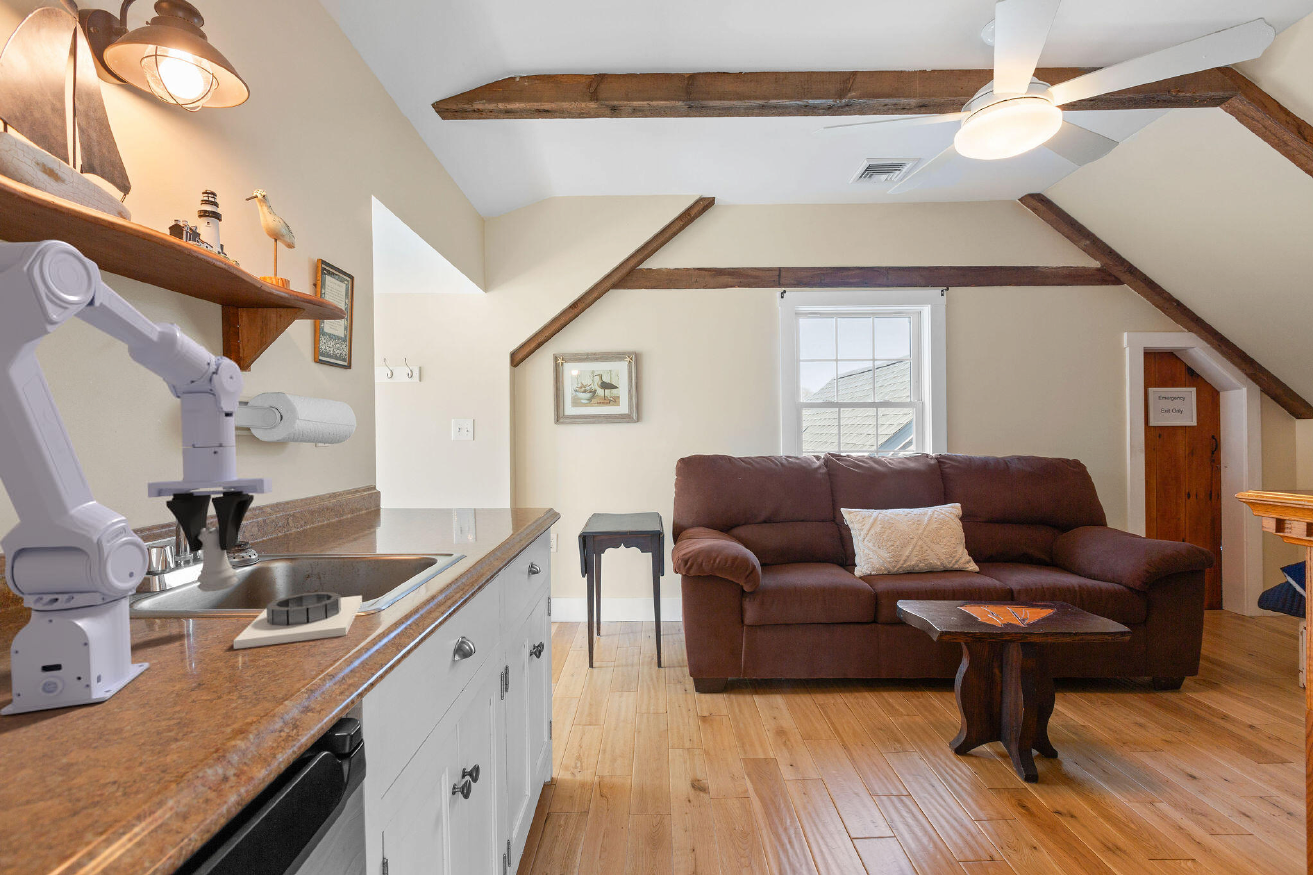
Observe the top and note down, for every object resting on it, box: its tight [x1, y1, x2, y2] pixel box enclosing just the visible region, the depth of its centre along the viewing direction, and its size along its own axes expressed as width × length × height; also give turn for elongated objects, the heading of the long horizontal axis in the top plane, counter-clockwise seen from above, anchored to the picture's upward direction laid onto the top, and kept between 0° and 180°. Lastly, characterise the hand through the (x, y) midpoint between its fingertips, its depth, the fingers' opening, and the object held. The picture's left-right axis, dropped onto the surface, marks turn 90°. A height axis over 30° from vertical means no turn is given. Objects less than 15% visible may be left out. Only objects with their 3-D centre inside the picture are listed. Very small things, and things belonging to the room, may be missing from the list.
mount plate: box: [233, 595, 363, 650], centre depth 82 cm, size 16×12×1 cm
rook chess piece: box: [196, 525, 239, 593], centre depth 82 cm, size 4×4×8 cm
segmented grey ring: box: [265, 591, 342, 626], centre depth 82 cm, size 8×8×2 cm
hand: (213, 549), depth 81 cm, fingers closed on rook chess piece, 3 cm apart
